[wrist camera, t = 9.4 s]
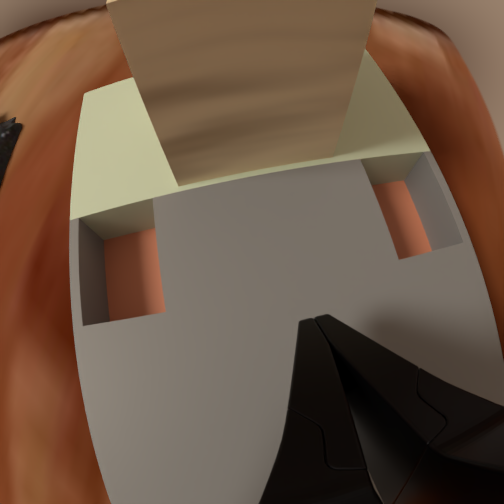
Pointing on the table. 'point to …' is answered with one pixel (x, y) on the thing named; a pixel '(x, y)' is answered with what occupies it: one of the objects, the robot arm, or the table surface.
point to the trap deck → (254, 289)
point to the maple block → (243, 78)
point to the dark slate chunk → (7, 142)
